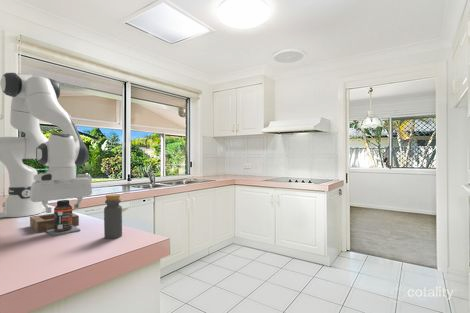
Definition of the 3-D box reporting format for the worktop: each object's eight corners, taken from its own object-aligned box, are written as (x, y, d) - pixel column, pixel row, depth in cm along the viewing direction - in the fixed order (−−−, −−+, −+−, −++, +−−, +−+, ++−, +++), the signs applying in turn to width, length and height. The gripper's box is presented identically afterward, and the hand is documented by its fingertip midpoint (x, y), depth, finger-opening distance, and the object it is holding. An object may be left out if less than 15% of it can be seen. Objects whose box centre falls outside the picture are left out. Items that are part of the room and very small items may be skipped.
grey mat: (46, 231, 102) (46, 230, 102) (72, 226, 108) (72, 225, 108) (52, 236, 95) (52, 234, 95) (80, 231, 102) (80, 229, 102)
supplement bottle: (63, 232, 98) (62, 202, 98) (50, 231, 100) (49, 201, 99) (76, 228, 104) (75, 199, 104) (63, 227, 105) (63, 199, 105)
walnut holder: (30, 226, 110) (30, 216, 110) (68, 219, 120) (68, 211, 120) (38, 232, 100) (37, 222, 100) (78, 225, 111) (78, 215, 111)
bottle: (109, 234, 98) (109, 193, 98) (125, 234, 98) (124, 193, 97) (101, 239, 92) (100, 196, 92) (117, 239, 92) (116, 196, 92)
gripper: (88, 172, 111) (89, 205, 112) (28, 176, 96) (28, 213, 96) (94, 173, 107) (94, 207, 107) (32, 177, 92) (32, 216, 92)
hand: (63, 210), depth 102 cm, fingers open, 8 cm apart
